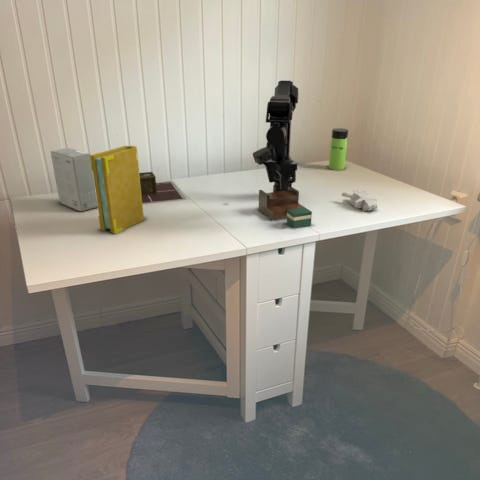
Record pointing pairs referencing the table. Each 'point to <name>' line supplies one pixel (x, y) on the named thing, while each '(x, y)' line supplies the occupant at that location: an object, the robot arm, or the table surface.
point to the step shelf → (279, 203)
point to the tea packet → (299, 217)
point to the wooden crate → (156, 189)
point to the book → (117, 188)
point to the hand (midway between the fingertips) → (276, 185)
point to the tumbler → (338, 149)
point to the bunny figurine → (361, 200)
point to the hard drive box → (74, 178)
